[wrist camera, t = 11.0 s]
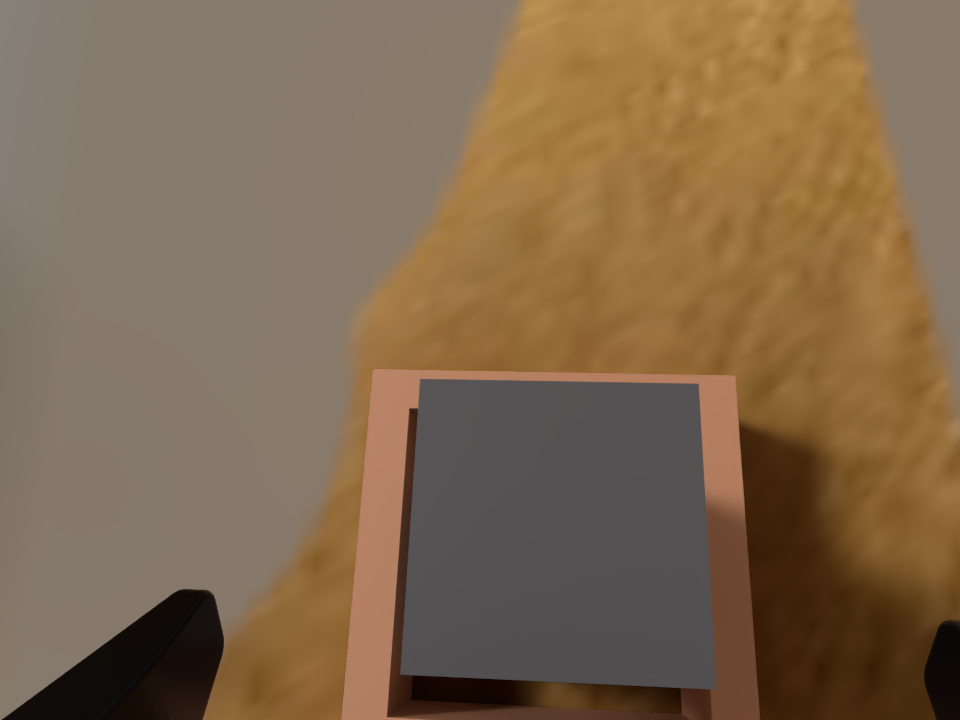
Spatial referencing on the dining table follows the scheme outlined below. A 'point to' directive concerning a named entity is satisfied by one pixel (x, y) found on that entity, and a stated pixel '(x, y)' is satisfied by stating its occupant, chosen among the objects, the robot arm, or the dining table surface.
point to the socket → (385, 544)
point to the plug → (559, 534)
